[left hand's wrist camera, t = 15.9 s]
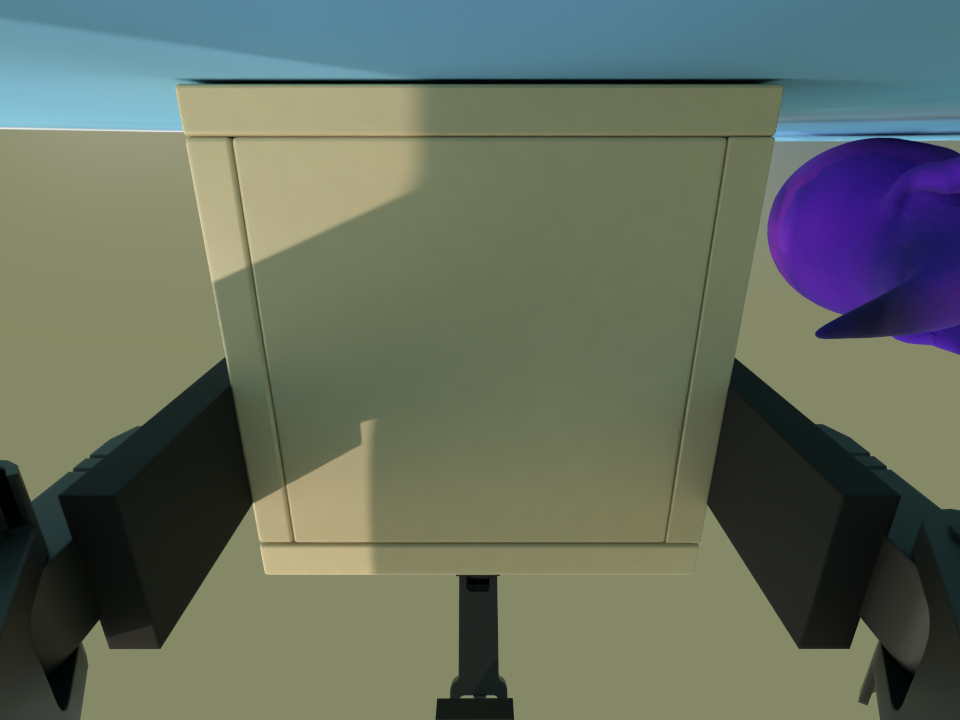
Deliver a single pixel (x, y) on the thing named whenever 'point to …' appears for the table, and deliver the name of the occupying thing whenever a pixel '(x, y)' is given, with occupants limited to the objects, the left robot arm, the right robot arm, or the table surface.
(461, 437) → the chest
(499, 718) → the right robot arm
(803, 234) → the toy
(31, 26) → the table surface
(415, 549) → the beige boxy piece
